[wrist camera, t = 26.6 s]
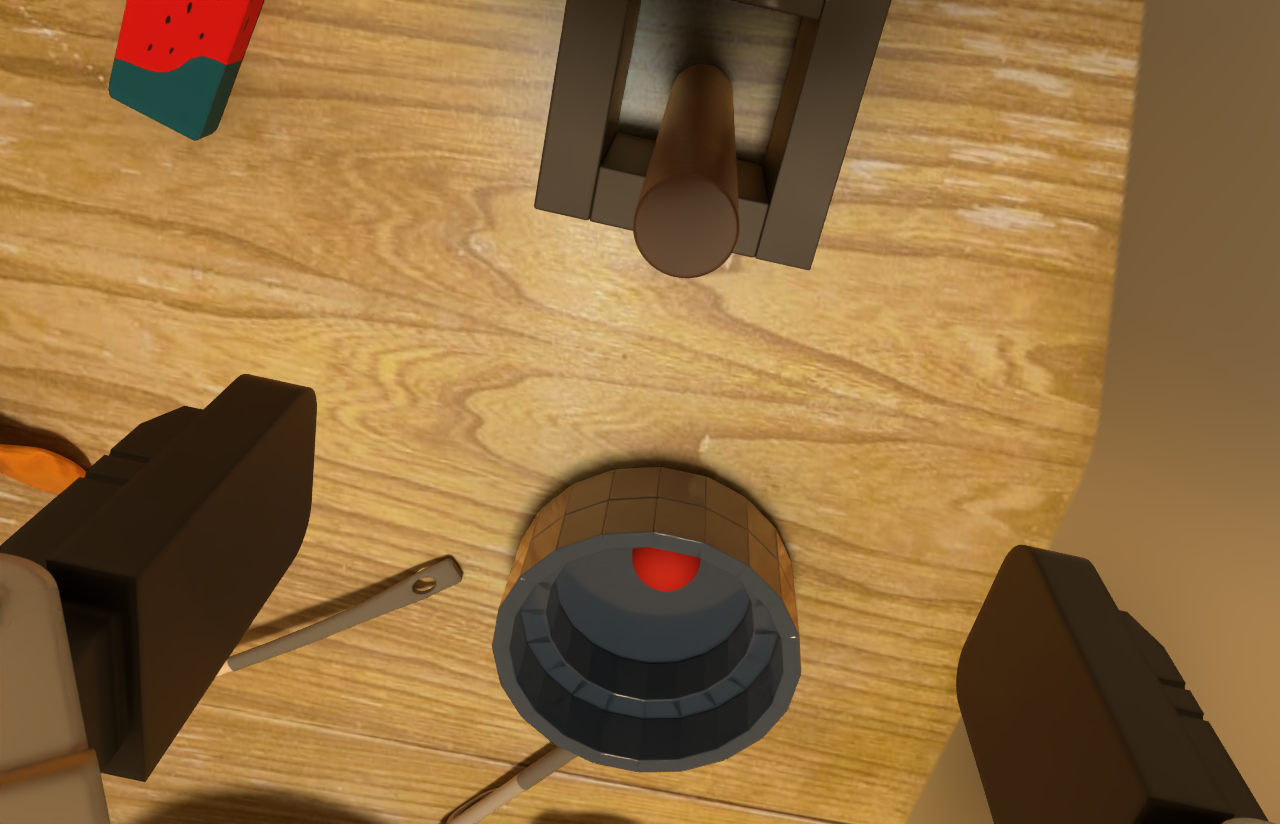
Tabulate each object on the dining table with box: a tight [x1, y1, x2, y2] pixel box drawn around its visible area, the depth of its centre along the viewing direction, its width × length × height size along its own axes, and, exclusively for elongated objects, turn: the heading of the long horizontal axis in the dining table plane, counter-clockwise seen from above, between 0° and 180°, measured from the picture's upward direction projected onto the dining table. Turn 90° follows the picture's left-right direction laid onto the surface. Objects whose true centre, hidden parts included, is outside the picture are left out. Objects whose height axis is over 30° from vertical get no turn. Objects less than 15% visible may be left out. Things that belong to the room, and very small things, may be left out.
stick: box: [633, 64, 740, 278], centre depth 30 cm, size 2×2×18 cm
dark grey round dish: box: [492, 467, 801, 772], centre depth 46 cm, size 14×14×6 cm
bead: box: [632, 547, 701, 592], centre depth 45 cm, size 3×3×3 cm
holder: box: [534, 0, 891, 270], centre depth 35 cm, size 10×10×6 cm
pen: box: [446, 747, 577, 824], centre depth 55 cm, size 1×14×1 cm, turn 134°
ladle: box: [101, 558, 462, 774], centre depth 52 cm, size 6×28×5 cm, turn 115°
